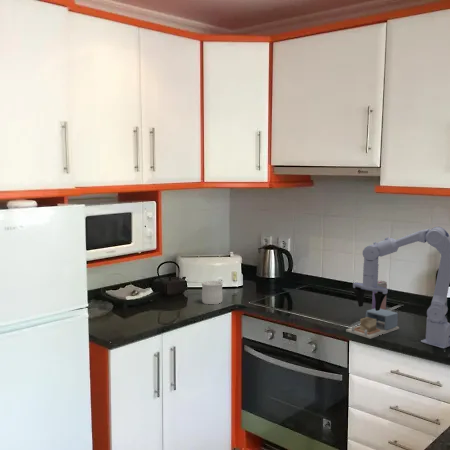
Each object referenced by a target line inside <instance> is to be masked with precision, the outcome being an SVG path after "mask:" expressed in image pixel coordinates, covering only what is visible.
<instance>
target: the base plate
mask: <svg viewBox="0 0 450 450" xmlns="http://www.w3.org/2000/svg"><path fill="white" fill-rule="evenodd" d="M384 328H385V322H383V321H379V320H378V321H376V330H375V331H372V332H367V330H365V331H362V330H360V324H359V325H357V326H355V325H352V326H351V327H349V328H346V329H345V332H346V333H350V334H353V335H357V336H360V337H364V338H367V339H374V338H376V337H379V335H380V336H382V334H383V335H385V334H388V333H391V332H393V331H396V330H399V329H400V326H398V325H397V326H396V327H393V328H390V329H388V330H385V329H384Z"/></svg>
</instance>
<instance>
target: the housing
mask: <svg viewBox="0 0 450 450" xmlns="http://www.w3.org/2000/svg"><path fill="white" fill-rule="evenodd" d="M398 315H399V313H398V312H395V311H391V310H388V309H386V310H384V309H380V310H378V311H376V310H375V308H374V309H372V308H371V309H368V310H365V317H369V318H373V319H376V320H377V321H379V322H382V323H385V328H384V329H385V330H388V329H390V328H393V327H396V326H397V327H398V322H399V321H398V318H399V317H398Z"/></svg>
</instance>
